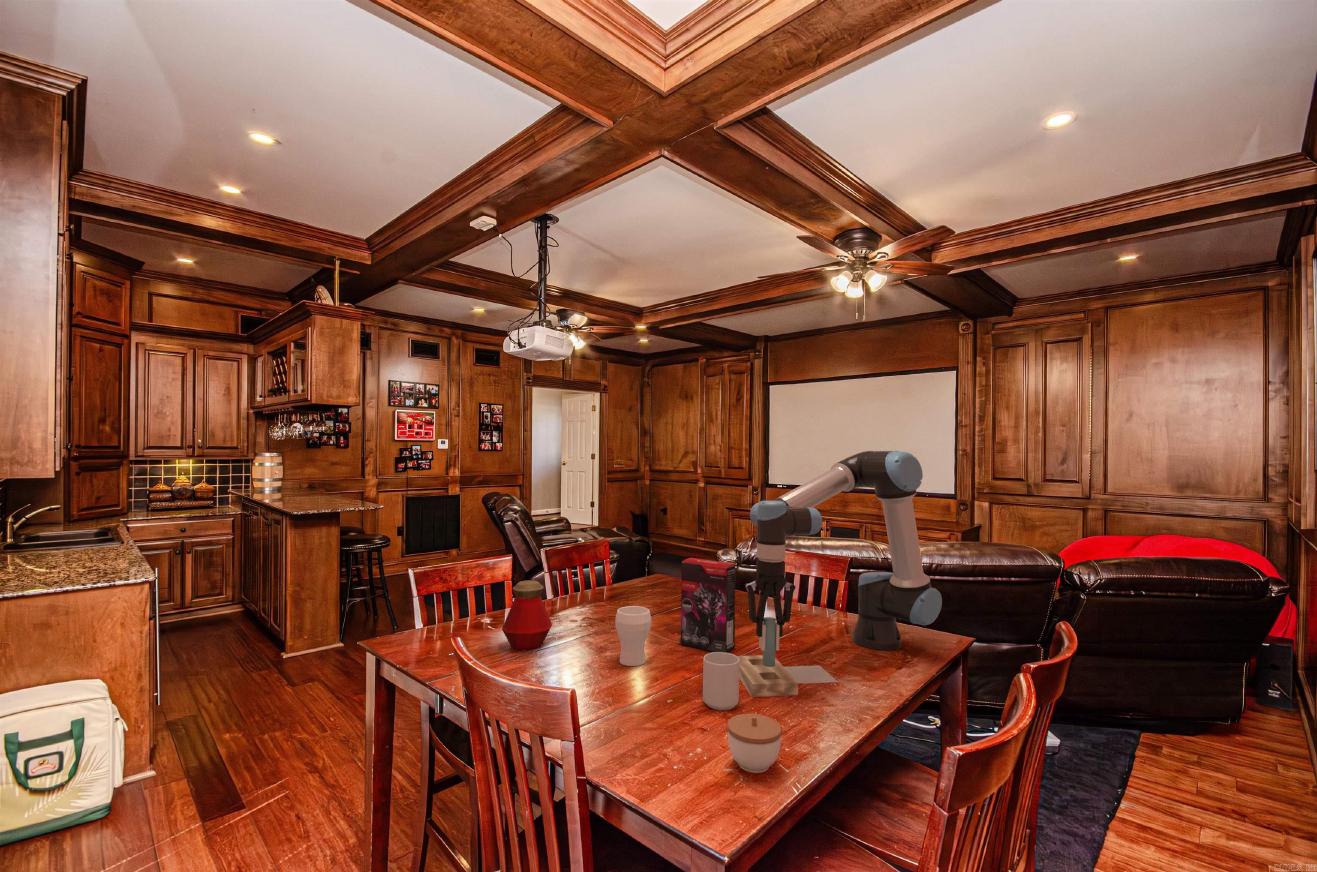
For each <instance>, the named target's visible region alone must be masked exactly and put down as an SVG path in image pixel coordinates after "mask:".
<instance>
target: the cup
mask: <svg viewBox="0 0 1317 872" xmlns="http://www.w3.org/2000/svg"><path fill="white" fill-rule="evenodd" d="M614 620H615V622H614V623H615V631H616V634H617V636H618V639H619V641H620V647H621V649H620V656H619V663H620V664H621V665H622V666H628V667H637V666H642V665H644V664H645V663H646V662H647V661H646V652H645V646H646V640H647V639H648V636H649V634H650V631H651V628H652V616H651V611H650V609H649V608H647V607H644V606H638V605H637V606H636V605H632V606H631V605H629V606H624V607H619V608H618V609H617V611H616V615H615V619H614Z"/></svg>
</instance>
